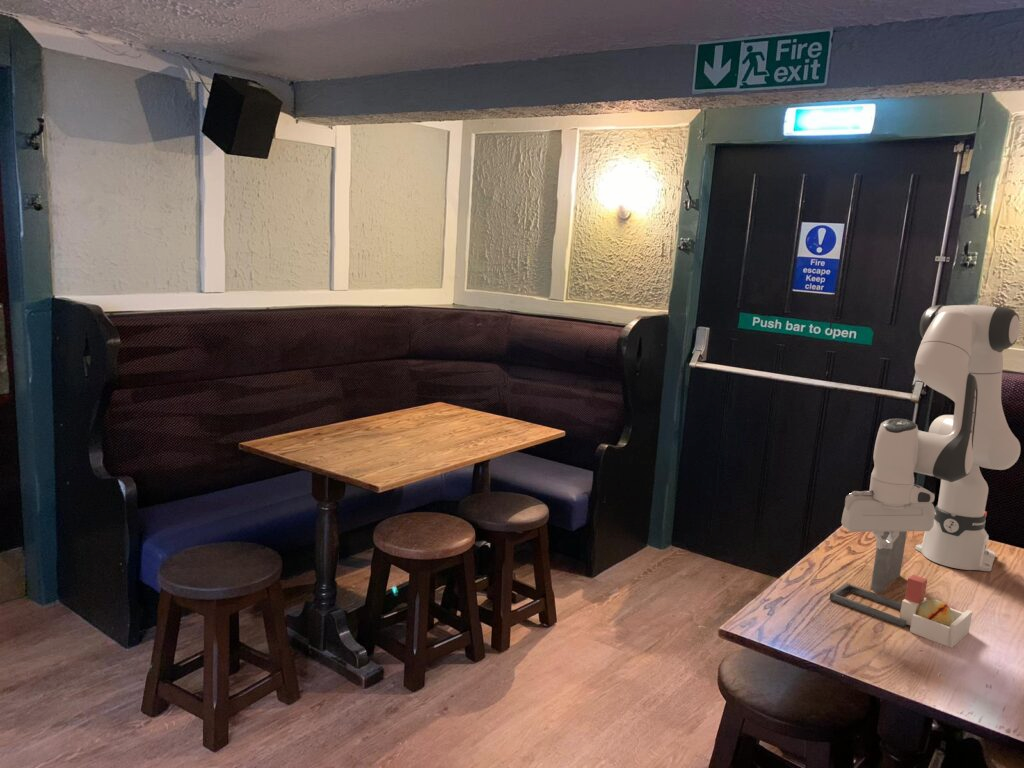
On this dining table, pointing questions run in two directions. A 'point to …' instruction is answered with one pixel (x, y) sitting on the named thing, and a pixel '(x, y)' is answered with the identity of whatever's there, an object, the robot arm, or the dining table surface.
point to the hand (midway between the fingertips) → (883, 548)
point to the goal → (943, 628)
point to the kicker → (913, 597)
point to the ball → (936, 612)
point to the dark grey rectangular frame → (866, 609)
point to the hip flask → (888, 563)
